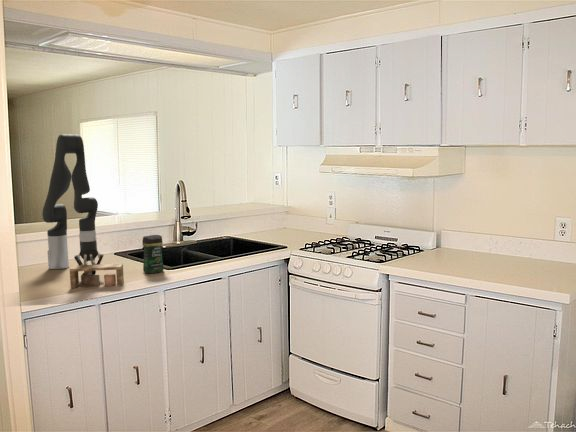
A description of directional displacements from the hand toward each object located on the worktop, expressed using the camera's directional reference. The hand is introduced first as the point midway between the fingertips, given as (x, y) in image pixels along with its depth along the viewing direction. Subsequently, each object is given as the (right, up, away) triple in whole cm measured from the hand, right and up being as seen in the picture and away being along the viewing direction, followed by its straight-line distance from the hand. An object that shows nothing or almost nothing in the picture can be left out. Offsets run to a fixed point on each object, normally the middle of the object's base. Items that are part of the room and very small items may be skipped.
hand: (90, 275), depth 261 cm
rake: (+3, -2, -3) cm, 5 cm away
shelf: (+8, -3, -11) cm, 14 cm away
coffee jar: (+27, 0, +13) cm, 30 cm away
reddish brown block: (+13, -3, -11) cm, 17 cm away
